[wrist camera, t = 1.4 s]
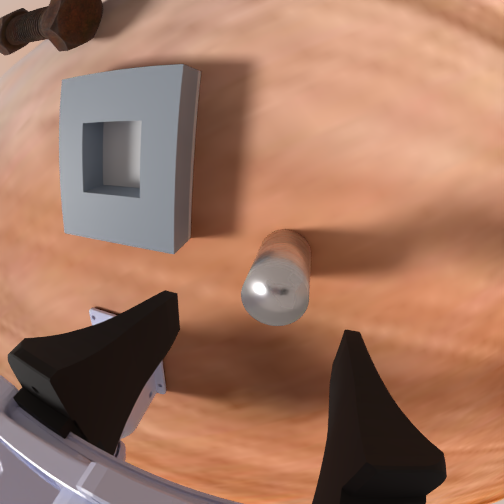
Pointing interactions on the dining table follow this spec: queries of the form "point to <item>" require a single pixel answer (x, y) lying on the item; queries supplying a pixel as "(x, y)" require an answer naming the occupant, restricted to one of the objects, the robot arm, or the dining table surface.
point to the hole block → (129, 155)
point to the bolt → (51, 25)
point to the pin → (279, 279)
